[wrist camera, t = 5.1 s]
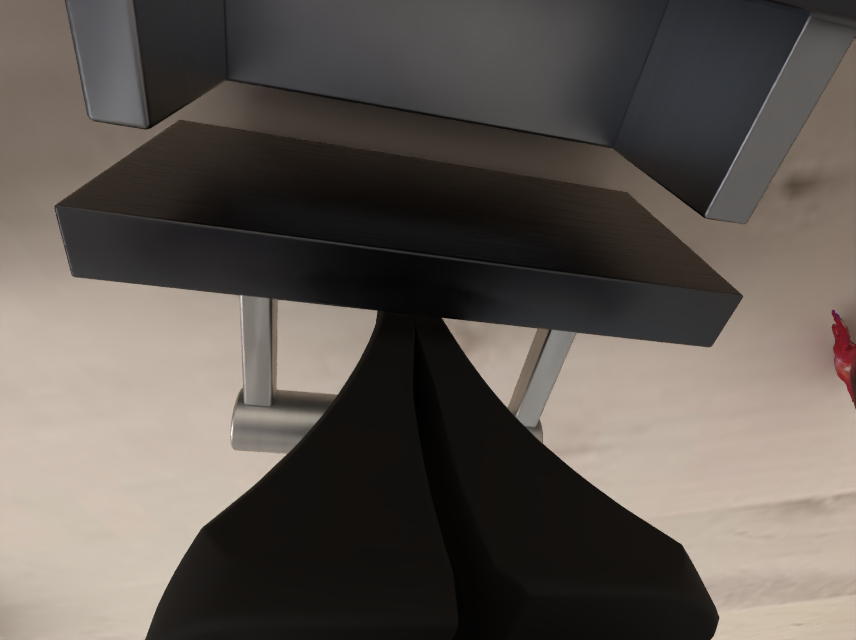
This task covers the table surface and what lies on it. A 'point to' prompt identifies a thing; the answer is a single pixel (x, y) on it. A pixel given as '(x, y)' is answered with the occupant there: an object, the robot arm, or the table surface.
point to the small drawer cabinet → (817, 9)
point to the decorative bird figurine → (844, 355)
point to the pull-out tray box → (438, 166)
